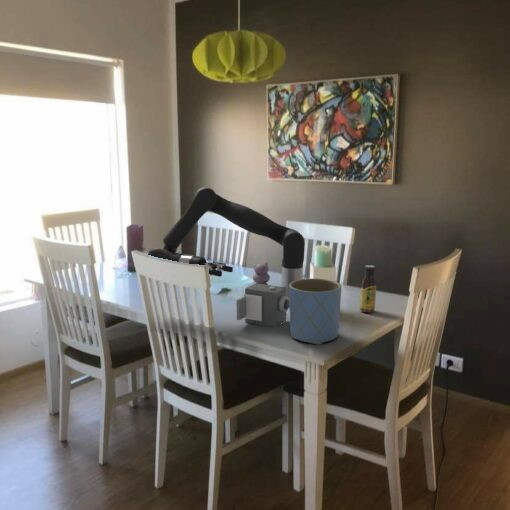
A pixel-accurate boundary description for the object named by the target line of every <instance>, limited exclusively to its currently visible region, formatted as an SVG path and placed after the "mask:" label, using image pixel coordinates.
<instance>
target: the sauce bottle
mask: <svg viewBox="0 0 510 510" xmlns="http://www.w3.org/2000/svg"><path fill="white" fill-rule="evenodd" d="M375 270H376V266H375V265H372V264H371V265H367V264H366V265H365V267H364V277H363V279H362V281H361V286H360V287H361V289H360V299H359V308H360V309H359V311H360V310H361V311H362V312H361V311H360V312H361V313H363V312H372V313H374V312H375V310H376V309H375V308H376V297H377V284H376V280H375ZM373 311H374V312H373Z"/></svg>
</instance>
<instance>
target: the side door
mask: <svg viewBox="0 0 510 510" xmlns="http://www.w3.org/2000/svg"><path fill="white" fill-rule="evenodd" d="M242 319H244V320H245V319H251V320H257V321H262V296H256V295H250V294H245V293H243V296H242V297H241V298H238V299H236V320H237V321H241V320H242Z"/></svg>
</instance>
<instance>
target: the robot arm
mask: <svg viewBox="0 0 510 510" xmlns="http://www.w3.org/2000/svg"><path fill="white" fill-rule="evenodd" d="M207 212H210V213H212V214H213V213H214V214H216V215H218V216H221V217H222V218H224V219H225V220H227V221H229V222H230V223H232V224H234V225H235V226H237V227H239V228H240V229H242V230H245V231H247V232H249V233H252V234H255V235H258V236H262V237H265V238H268V239H271V240H272V241H274V242H276V243H278V244H279V245H280V246H282V247H283V248H282V251H283V253H282V260H281V287H286V297H288V298H289V284H290V283H291V282H293V281H296V280H300V279H304V277H303V275H304V274H303V273H304V272H303V271H304V267H303V266H304V260H305V238H304V236H303V235H302V234H301V233H300V232H299V231H298V230H295V229H293V228H290V227H287V226H284V225H281V224H279V223H277V222H275V221H273V219H271V218H269V217H267V216H266V215H264V214H262V213H260V212H258V211H256V210H254V209H252V208H251V207H248V206H245V205H243V204H240V203H237V202H233V201H230V200H228V199H226V198H225V197H222V196H220V195H219V194H217V193H216V192H215V190H214V189H212V188H210V187H206V186H205V187H204V186H203V187H200V188H198V189H197V190H196V191H195V192H194V194H193V200H192V202H191V204H190V205H189V207H188V208H187V210H186V211H185V213H184V214H183V215H182V216H181V217H180V218H179V219H178V220H177V222H176V223H175V224H174V225H173V226H172V227H171V228H170V230H169V231H168V232H167V234H166V235H165V236H164V238H163V239H162V241H163V244H164V245H163V248H162V247H154V248H151V249H150V250H149V251H148V252H147V256H148V255H151V256H154V257H158V258H163V259H168V260H172V261H177V262H183V263H189V264H199V265H207V266H208V267H209V274H210V275H209V276H215V277H219V278H221V277H222V276H223V272H226V273H233V272H234V267H233V266H229V265H227V264H226V262H219V261H207V259H206V258H205V257H203V256H199V255H198V256H197V255H192V254H185V253H179V252H177V250H178V248H179V247H180V245H181V244H182V243H183V242H184V240H185V239H186V238H187V236H188V235H189V233H190V232H191V231H192V229H193V228H194V227H195V225H196V224H197V223H198V221H199V220H200V219H201V218H202V217H203V216H204V215H205V214H206V213H207ZM289 308H290V299H289Z"/></svg>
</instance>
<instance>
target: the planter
mask: <svg viewBox="0 0 510 510" xmlns="http://www.w3.org/2000/svg"><path fill="white" fill-rule="evenodd" d="M341 297H342V284H341V283H339V282H337V281H335V280H332V279H331V280H330V279H326V278H325V279H324V278H303V279H300V280H296V281H293V282H291V283H290V284H289V299H290V307H289V325H290V326H289V327H290V328H289V329H290V338H293V339H295V340H297V341H301V342H305V343H309V344H314V345H318V346H319V345H322V344H323V343H326V342H330V341H333V340H335V339H336V338H338V336H339V329H340V316H341V314H340V313H341V299H342V298H341Z"/></svg>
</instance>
